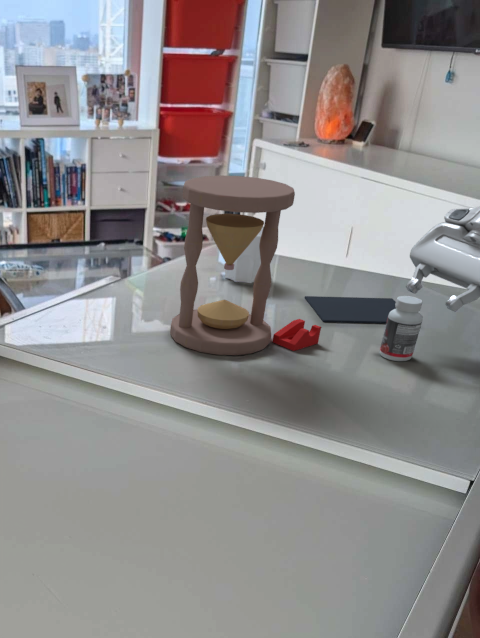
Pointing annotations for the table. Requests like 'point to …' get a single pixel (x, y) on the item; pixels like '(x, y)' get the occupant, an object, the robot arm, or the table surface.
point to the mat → (352, 309)
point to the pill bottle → (402, 329)
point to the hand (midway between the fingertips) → (429, 298)
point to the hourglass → (229, 261)
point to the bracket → (297, 335)
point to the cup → (246, 263)
